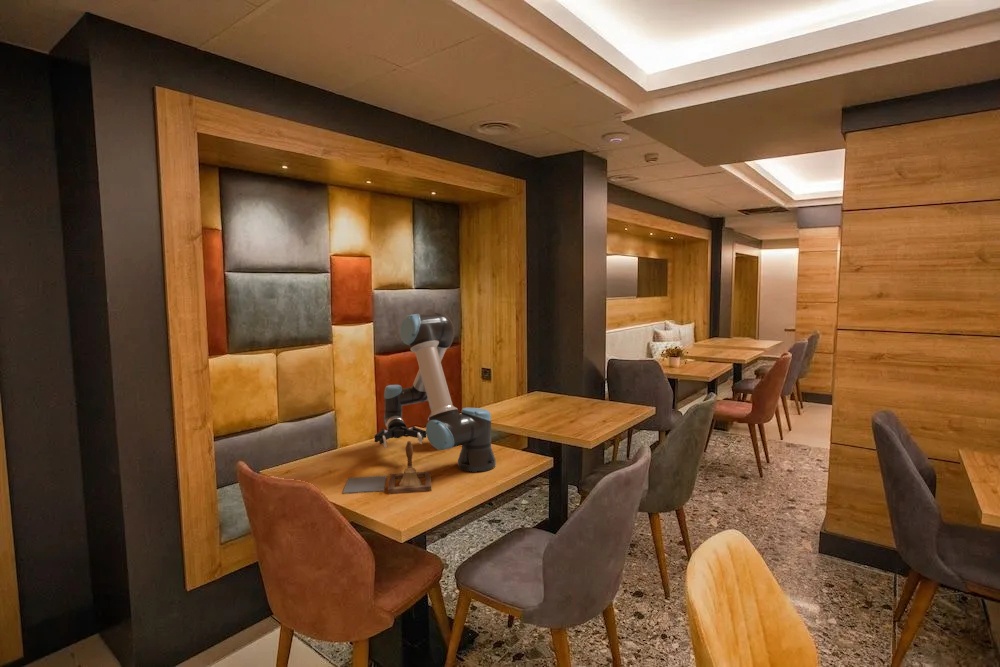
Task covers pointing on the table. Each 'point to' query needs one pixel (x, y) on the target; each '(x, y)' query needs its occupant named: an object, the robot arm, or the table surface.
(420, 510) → the table surface
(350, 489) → the rubber mat
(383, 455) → the table surface
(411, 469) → the hand bell
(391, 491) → the square frame
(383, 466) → the table surface
